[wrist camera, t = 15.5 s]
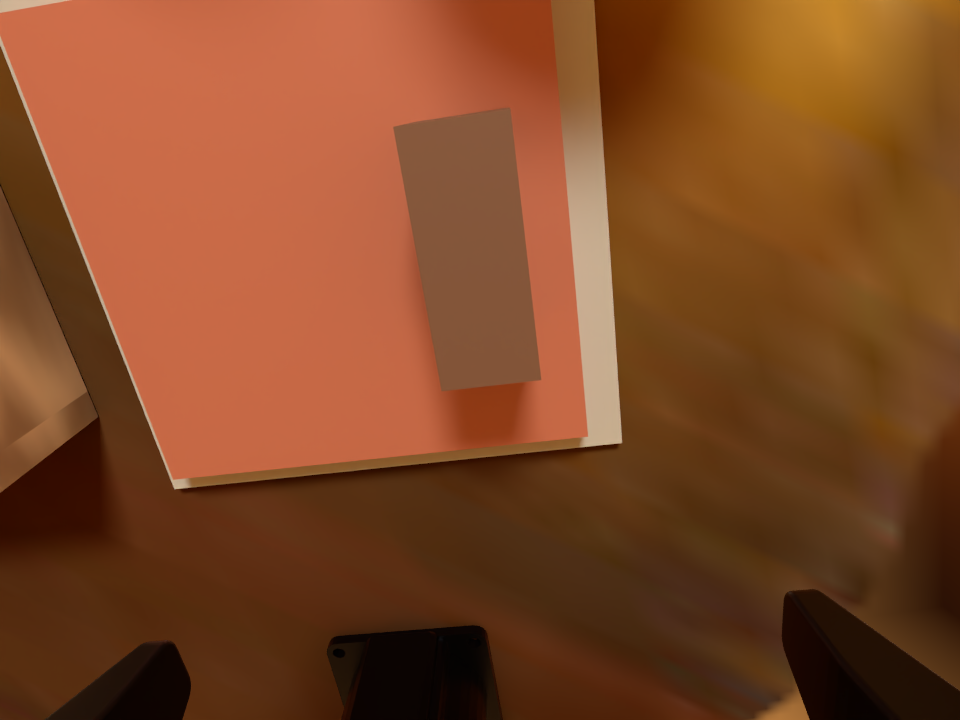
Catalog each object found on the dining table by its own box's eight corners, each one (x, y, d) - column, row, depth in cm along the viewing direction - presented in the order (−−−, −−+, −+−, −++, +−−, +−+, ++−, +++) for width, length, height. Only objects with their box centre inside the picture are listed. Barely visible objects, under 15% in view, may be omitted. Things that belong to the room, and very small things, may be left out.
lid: (584, 421, 21) (607, 514, 16) (187, 464, 22) (101, 560, 17) (541, -74, 15) (556, -150, 11) (20, 19, 17) (-167, -13, 12)
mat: (619, 437, 21) (622, 443, 21) (179, 483, 23) (174, 489, 22) (583, -128, 15) (585, -134, 15) (-14, -17, 17) (-25, -20, 16)
